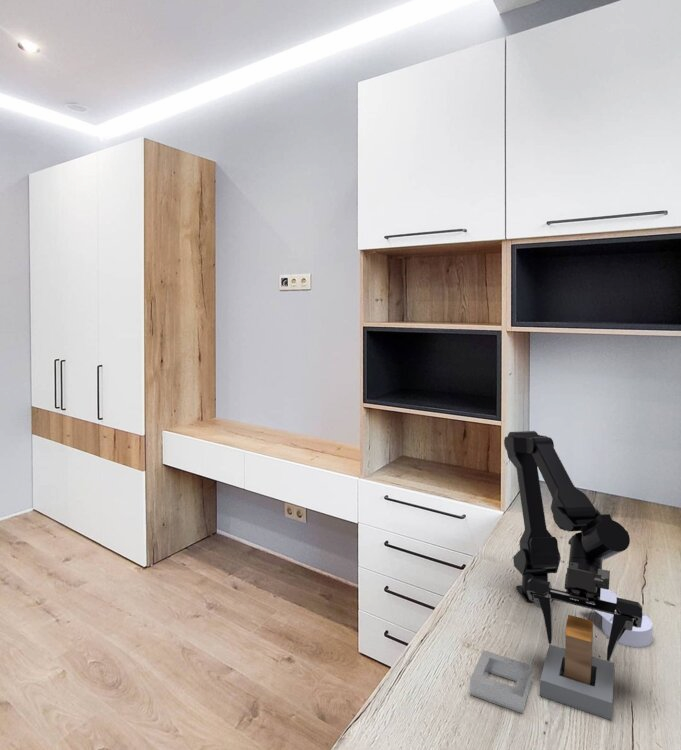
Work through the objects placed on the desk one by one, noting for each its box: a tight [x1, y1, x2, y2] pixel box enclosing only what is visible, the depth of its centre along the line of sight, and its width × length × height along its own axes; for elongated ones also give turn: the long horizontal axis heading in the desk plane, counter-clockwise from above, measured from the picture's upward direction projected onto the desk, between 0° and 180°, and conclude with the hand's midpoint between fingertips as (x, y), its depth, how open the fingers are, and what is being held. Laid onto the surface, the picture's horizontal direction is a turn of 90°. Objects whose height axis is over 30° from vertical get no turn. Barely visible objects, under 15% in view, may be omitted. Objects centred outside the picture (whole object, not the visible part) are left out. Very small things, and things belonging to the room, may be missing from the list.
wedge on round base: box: [586, 588, 654, 648], centre depth 105 cm, size 9×7×13 cm
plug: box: [564, 614, 594, 686], centre depth 88 cm, size 4×4×12 cm
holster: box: [469, 649, 533, 714], centre depth 88 cm, size 9×9×3 cm
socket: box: [539, 643, 615, 721], centre depth 88 cm, size 11×11×3 cm
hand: (578, 651), depth 86 cm, fingers open, 9 cm apart
